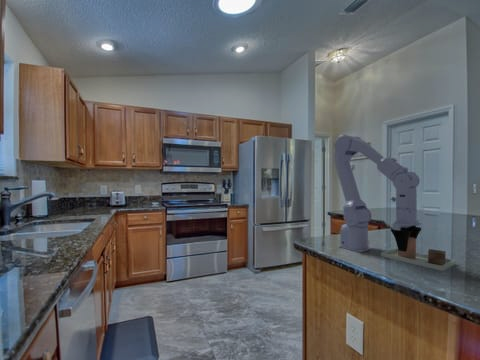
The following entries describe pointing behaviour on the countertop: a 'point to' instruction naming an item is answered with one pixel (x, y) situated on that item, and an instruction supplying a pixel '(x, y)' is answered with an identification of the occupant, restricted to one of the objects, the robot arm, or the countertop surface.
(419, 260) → the tray
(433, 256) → the walnut block
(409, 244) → the brown rounded cylinder
